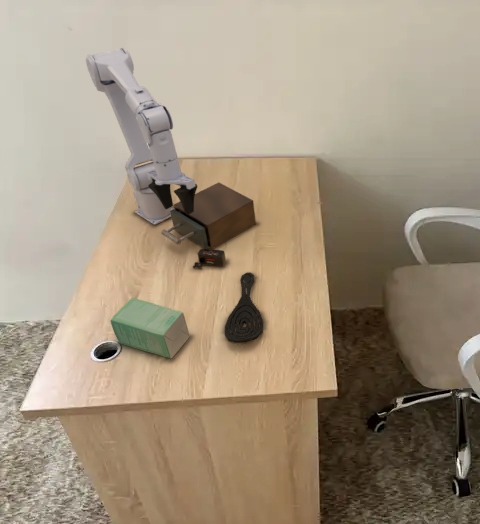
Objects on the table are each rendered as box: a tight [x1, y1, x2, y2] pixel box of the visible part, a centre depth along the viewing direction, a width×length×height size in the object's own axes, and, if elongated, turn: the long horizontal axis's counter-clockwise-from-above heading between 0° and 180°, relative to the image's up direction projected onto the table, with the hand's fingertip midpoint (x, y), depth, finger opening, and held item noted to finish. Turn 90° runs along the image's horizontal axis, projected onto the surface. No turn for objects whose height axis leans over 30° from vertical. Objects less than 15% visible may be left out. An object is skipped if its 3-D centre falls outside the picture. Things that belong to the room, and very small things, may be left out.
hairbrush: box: [224, 272, 264, 344], centre depth 130 cm, size 8×4×25 cm
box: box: [110, 297, 190, 359], centre depth 121 cm, size 7×14×8 cm, turn 70°
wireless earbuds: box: [192, 247, 227, 269], centre depth 142 cm, size 5×7×3 cm, turn 81°
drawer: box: [161, 208, 210, 249], centre depth 151 cm, size 20×13×6 cm, turn 139°
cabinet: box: [173, 181, 257, 250], centre depth 154 cm, size 15×14×8 cm
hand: (179, 210), depth 143 cm, fingers open, 7 cm apart
